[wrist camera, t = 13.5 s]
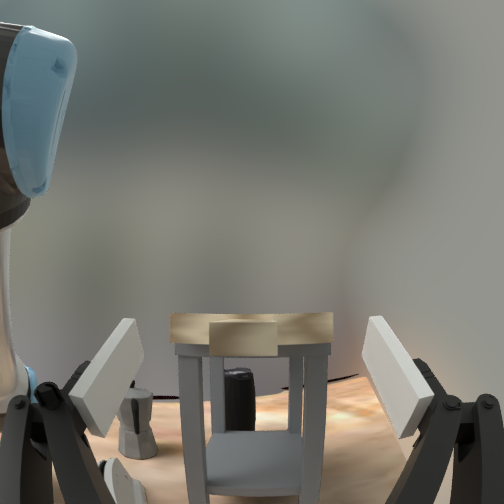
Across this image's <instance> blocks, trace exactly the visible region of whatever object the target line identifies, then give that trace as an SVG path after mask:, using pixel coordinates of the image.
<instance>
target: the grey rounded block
mask: <svg viewBox="0 0 504 504" xmlns="http://www.w3.org/2000/svg"><path fill="white" fill-rule="evenodd" d="M97 465H98V467H99V469H100V472H101V474H102V476H103V478H104V480H105V482H106V485H107V487H108V489H109V491H110V493H111V495H112V497H113V499H114V501H115V502H116V504H147V500H146V495H145V489H144V487H143V485H142V484H141V482H140V481H138V480H134V479H132V478H131V477H130V475H129V474H128V473H127V471H126V470H125V468H124V467H123V465H122V464H121V463H120V461H119V460H118V458H110V459H109V460H108V461H105V460H102V461H100V462H98V463H97Z"/></svg>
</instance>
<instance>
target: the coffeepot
mask: <svg viewBox="0 0 504 504" xmlns="http://www.w3.org/2000/svg"><path fill="white" fill-rule="evenodd" d="M134 385H135V381H134V380H133V381H132V383H131V385H130V387H129V389H128V391H127V393H126V395H125V397H124V399H123V401H122V403H121V405H120V407H119V409H118V411H117V413H116V414H117V418H118V420H119V421H120V425H121V426H120V428H119V448H118V450H119V451H120V452H121V454H122V455H124V456H125V457H128V458H131V459H148V458H151V457H153V456H155V455H156V453H157V450H158V448H157V445H156V442H155V439H154V436H153V432H152V429H151V427H150V425H149V421H150V420H151V412H152V400H153V393H152V392H150V391H148V390H146V389H141V388H136V387H134Z"/></svg>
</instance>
